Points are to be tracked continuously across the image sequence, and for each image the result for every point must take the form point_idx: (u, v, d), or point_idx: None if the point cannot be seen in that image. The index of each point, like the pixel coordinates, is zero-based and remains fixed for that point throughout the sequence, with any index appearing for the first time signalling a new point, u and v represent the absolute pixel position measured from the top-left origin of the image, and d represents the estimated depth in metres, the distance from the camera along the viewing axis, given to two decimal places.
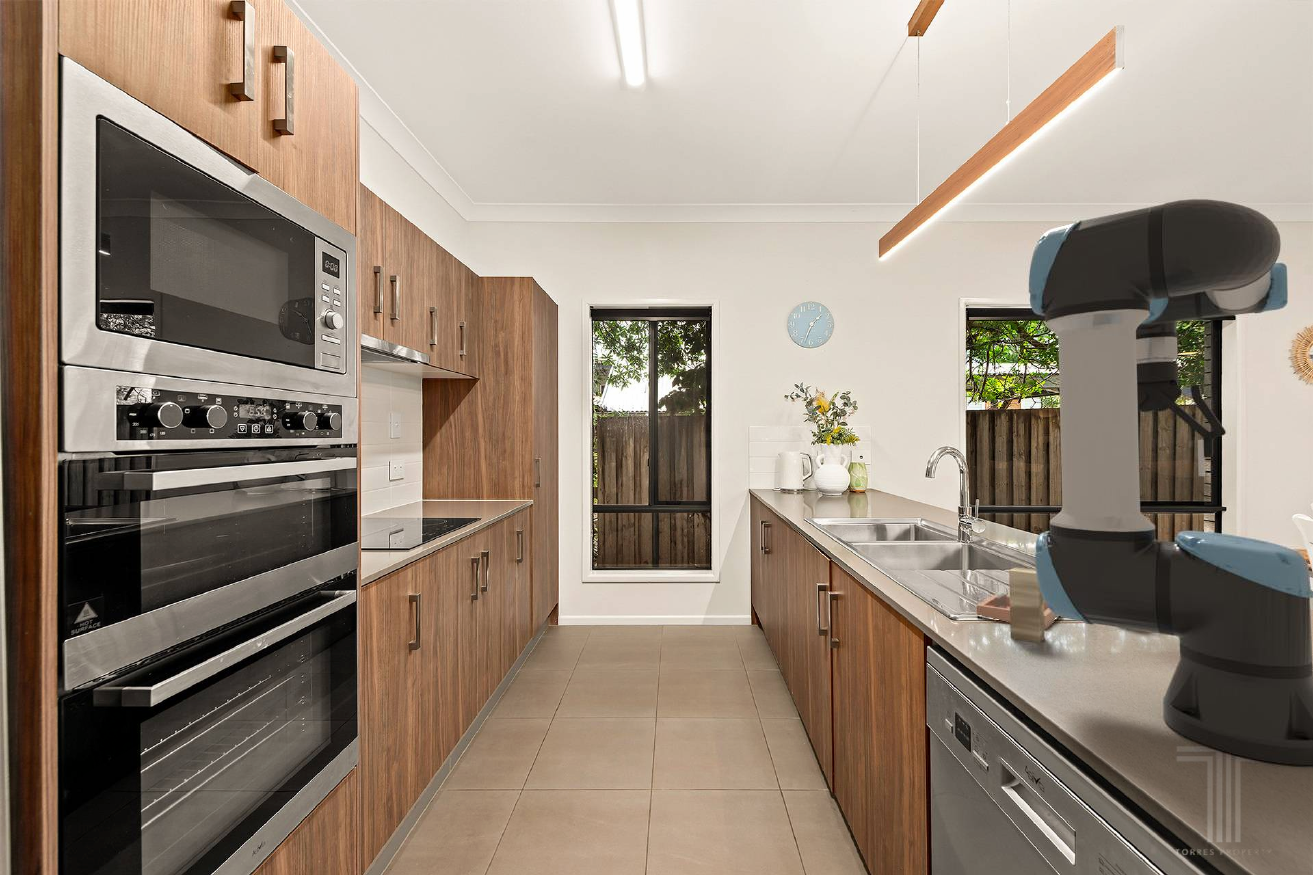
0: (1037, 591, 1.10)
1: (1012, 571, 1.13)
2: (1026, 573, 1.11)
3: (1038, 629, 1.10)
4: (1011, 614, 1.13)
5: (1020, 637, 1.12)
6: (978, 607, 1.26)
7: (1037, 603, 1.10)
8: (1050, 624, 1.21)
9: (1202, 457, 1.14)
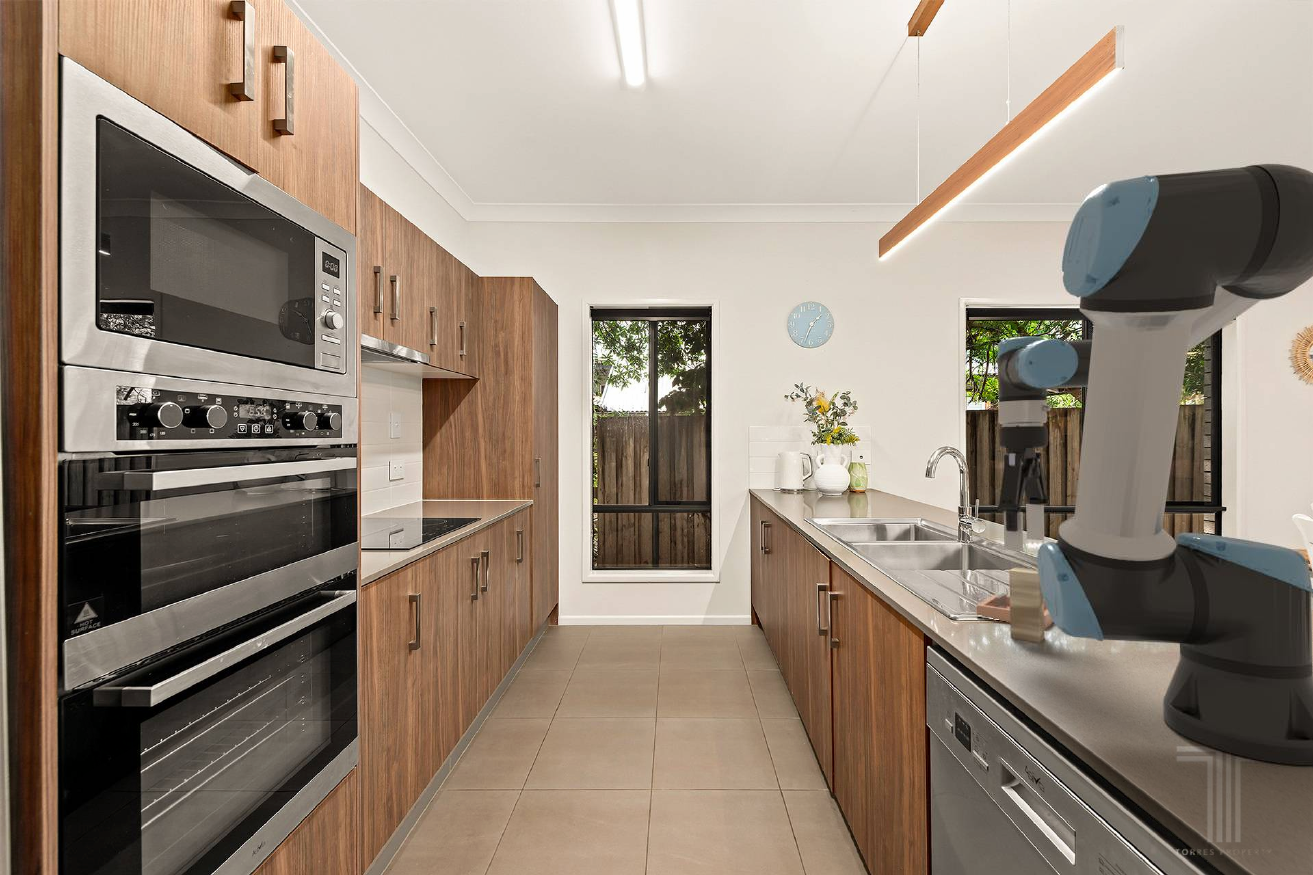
0: (1037, 591, 1.10)
1: (1012, 571, 1.13)
2: (1026, 573, 1.11)
3: (1038, 629, 1.10)
4: (1011, 614, 1.13)
5: (1020, 637, 1.12)
6: (978, 607, 1.26)
7: (1037, 603, 1.10)
8: (1050, 624, 1.21)
9: (1004, 529, 1.09)
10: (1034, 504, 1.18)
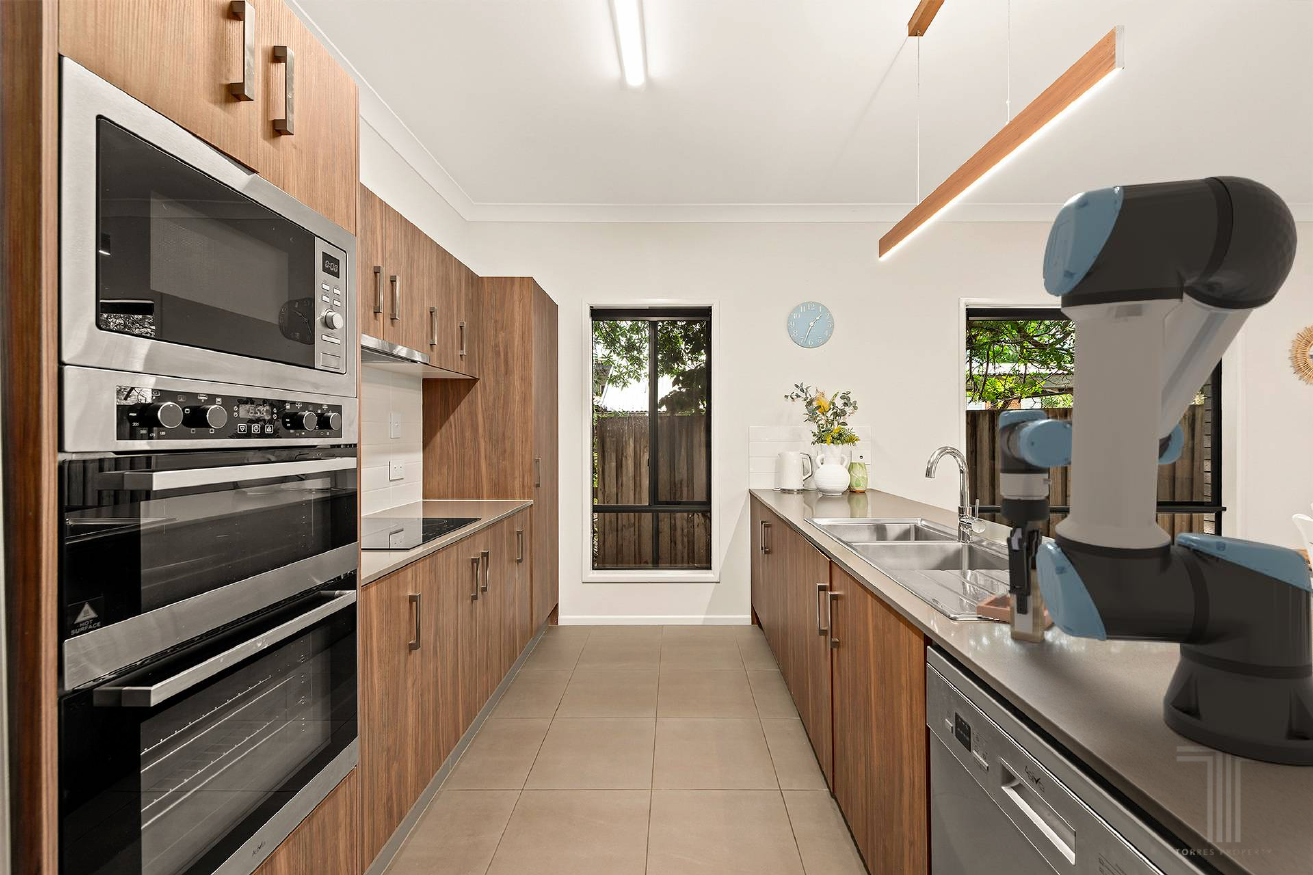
0: (1037, 591, 1.10)
1: None
2: None
3: (1038, 629, 1.10)
4: (1011, 614, 1.13)
5: (1020, 637, 1.12)
6: (978, 607, 1.26)
7: (1037, 603, 1.10)
8: (1050, 624, 1.21)
9: (1014, 611, 1.12)
10: None
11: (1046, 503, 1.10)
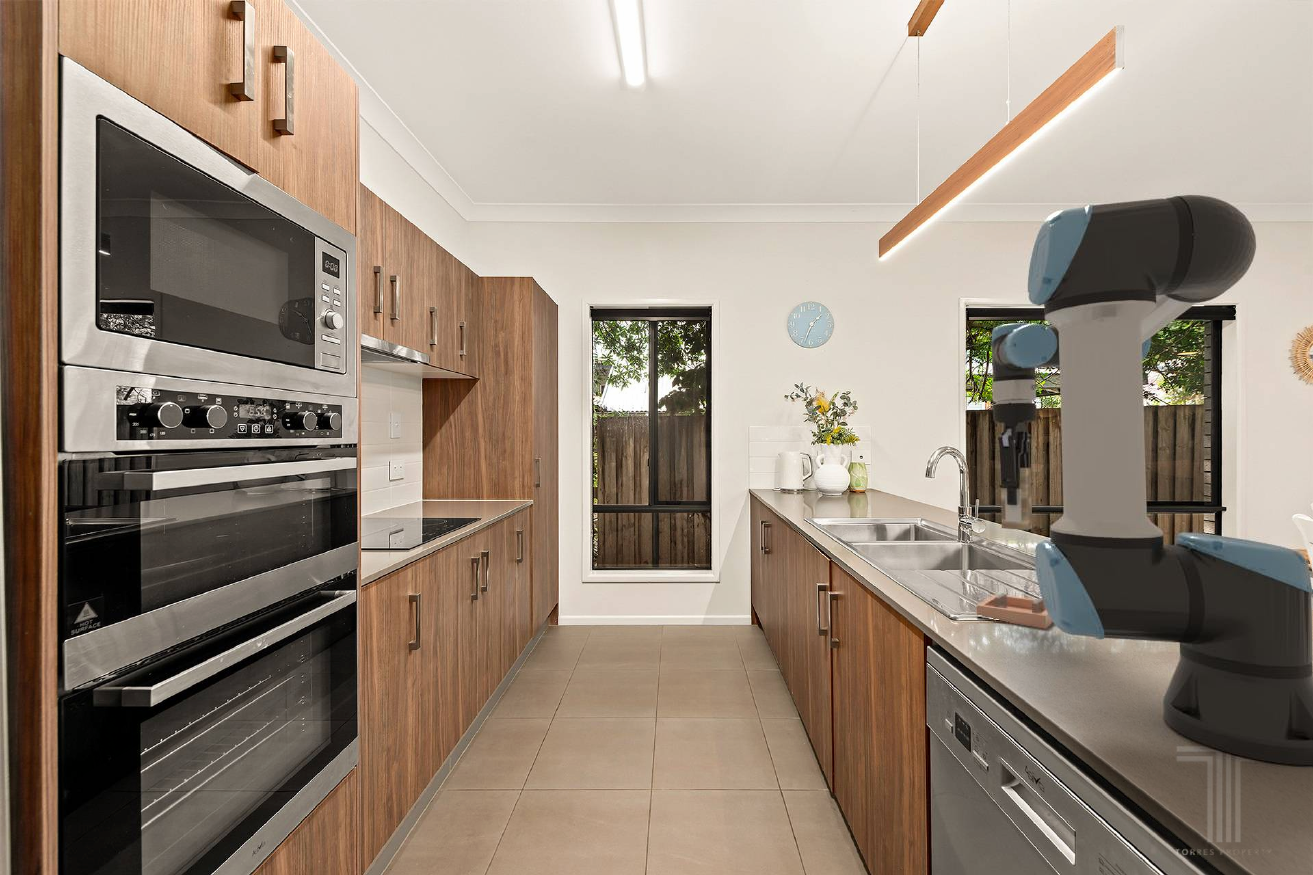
0: (1025, 484, 1.24)
1: None
2: None
3: (1026, 518, 1.24)
4: (1002, 507, 1.27)
5: (1010, 527, 1.26)
6: (978, 607, 1.26)
7: (1025, 495, 1.24)
8: (1050, 624, 1.21)
9: None
10: None
11: (1033, 406, 1.24)
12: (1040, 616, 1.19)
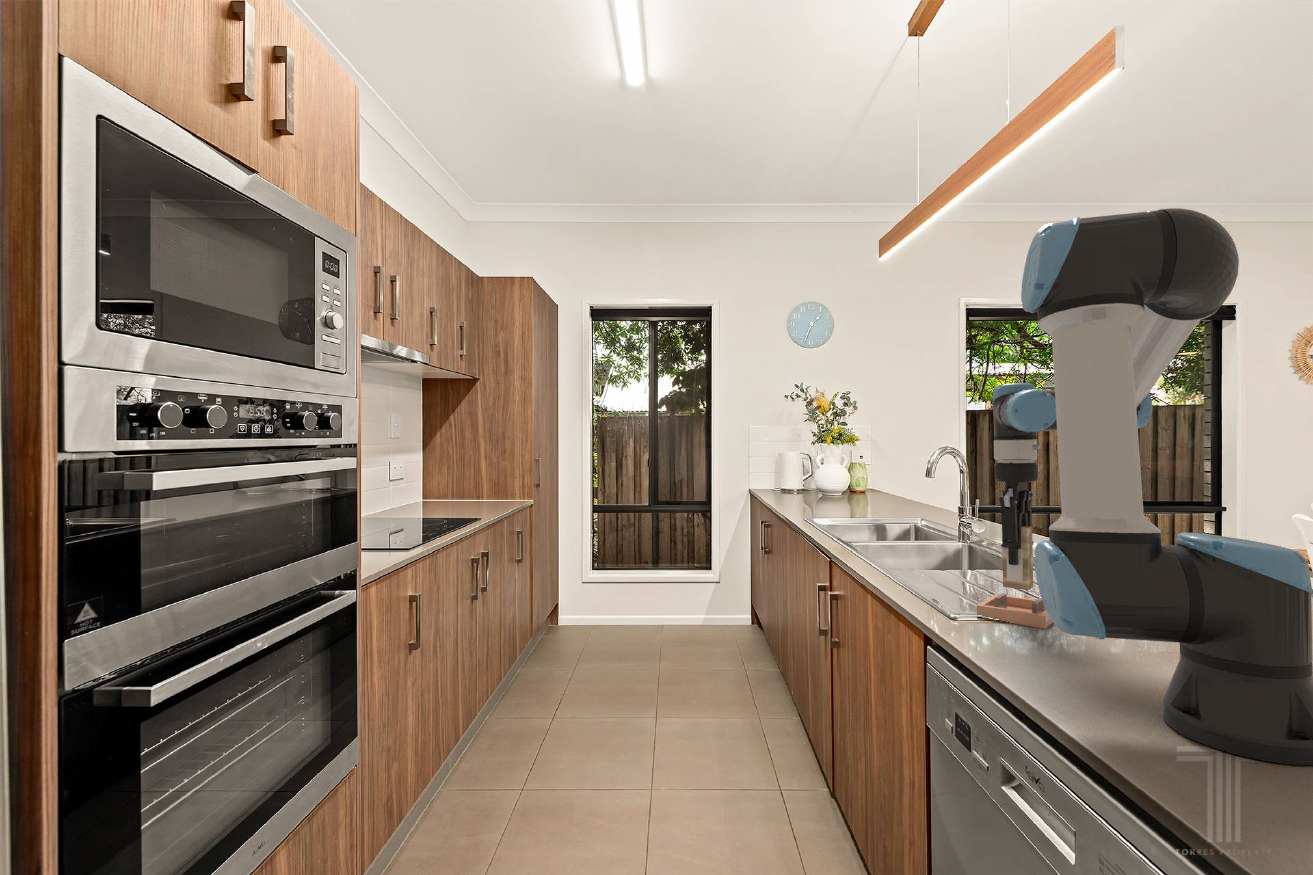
0: (1026, 544, 1.24)
1: None
2: None
3: (1027, 578, 1.24)
4: (1003, 566, 1.27)
5: (1011, 586, 1.26)
6: (978, 607, 1.26)
7: (1026, 555, 1.24)
8: (1050, 624, 1.21)
9: None
10: None
11: (1035, 466, 1.24)
12: (1040, 616, 1.19)
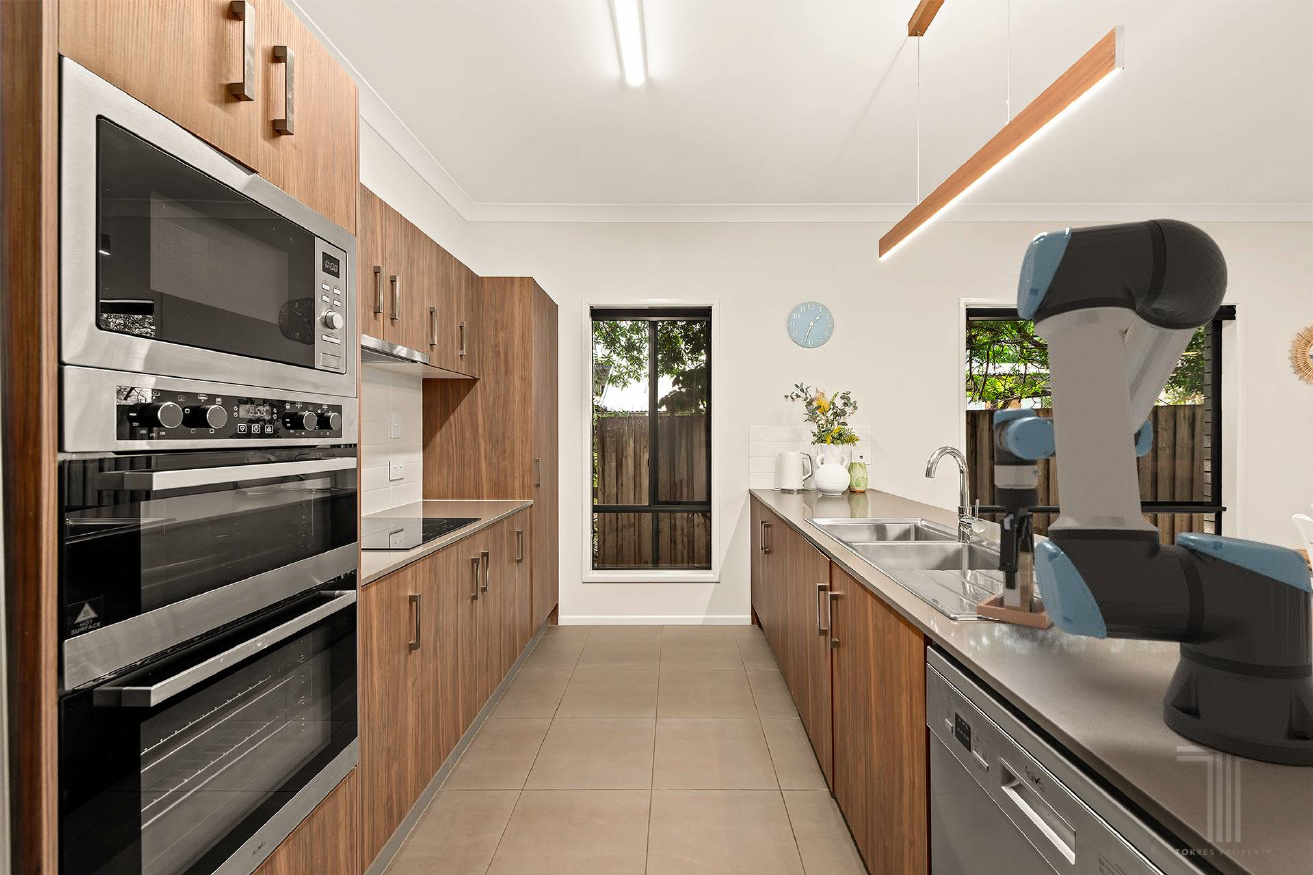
0: (1027, 571, 1.24)
1: None
2: None
3: (1028, 605, 1.24)
4: None
5: None
6: (978, 607, 1.26)
7: (1027, 582, 1.24)
8: (1050, 624, 1.21)
9: None
10: None
11: (1035, 492, 1.24)
12: (1040, 616, 1.19)
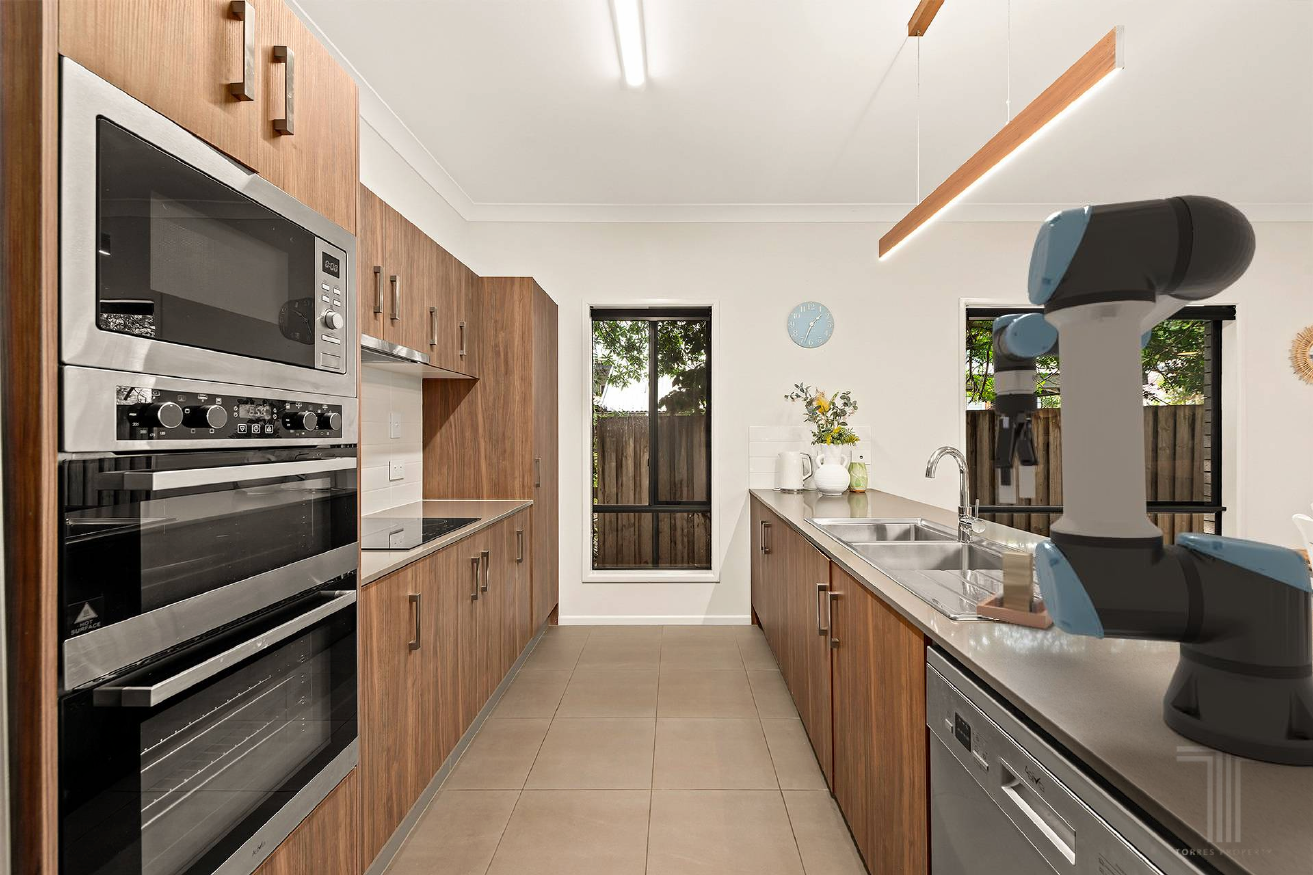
0: (1027, 571, 1.24)
1: (1005, 553, 1.27)
2: (1017, 555, 1.25)
3: (1028, 605, 1.24)
4: (1004, 592, 1.27)
5: None
6: (978, 607, 1.26)
7: (1027, 582, 1.24)
8: (1050, 624, 1.21)
9: (999, 485, 1.23)
10: (1026, 466, 1.32)
11: (1034, 396, 1.24)
12: (1040, 616, 1.19)
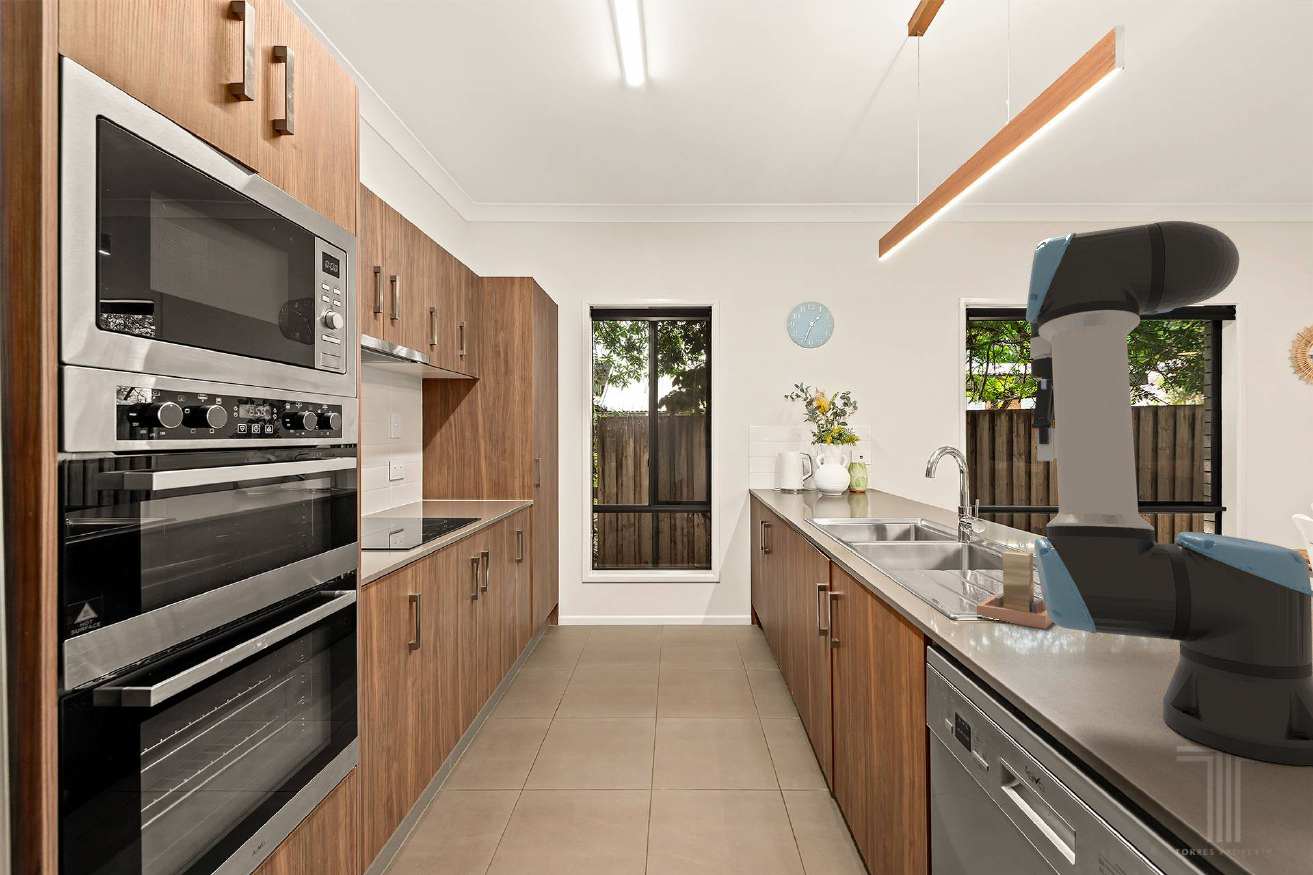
0: (1027, 571, 1.24)
1: (1005, 553, 1.27)
2: (1017, 555, 1.25)
3: (1028, 605, 1.24)
4: (1004, 592, 1.27)
5: None
6: (978, 607, 1.26)
7: (1027, 582, 1.24)
8: (1050, 624, 1.21)
9: (1037, 444, 1.28)
10: None
11: None
12: (1040, 616, 1.19)
